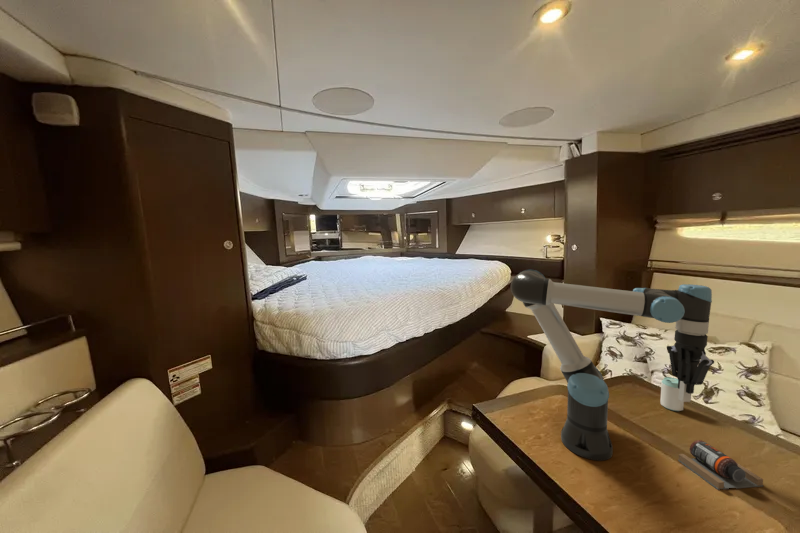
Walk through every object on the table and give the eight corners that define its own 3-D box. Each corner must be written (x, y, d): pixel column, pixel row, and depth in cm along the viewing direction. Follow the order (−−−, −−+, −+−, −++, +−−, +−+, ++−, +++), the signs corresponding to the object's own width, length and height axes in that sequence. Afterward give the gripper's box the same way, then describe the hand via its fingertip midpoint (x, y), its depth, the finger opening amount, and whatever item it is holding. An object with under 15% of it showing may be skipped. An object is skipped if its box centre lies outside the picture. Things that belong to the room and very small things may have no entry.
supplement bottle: (708, 442, 93) (753, 470, 82) (699, 458, 94) (743, 488, 82) (693, 436, 93) (736, 463, 82) (685, 452, 93) (726, 481, 82)
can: (680, 414, 116) (682, 385, 115) (657, 406, 122) (659, 379, 121) (685, 408, 120) (687, 380, 119) (663, 400, 126) (664, 374, 125)
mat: (717, 489, 81) (718, 482, 81) (678, 460, 92) (678, 454, 92) (763, 486, 82) (763, 479, 82) (718, 457, 93) (719, 451, 93)
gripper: (725, 338, 88) (717, 411, 90) (681, 325, 101) (675, 389, 103) (702, 339, 87) (695, 412, 89) (661, 326, 100) (655, 390, 102)
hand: (684, 400), depth 96 cm, fingers closed
